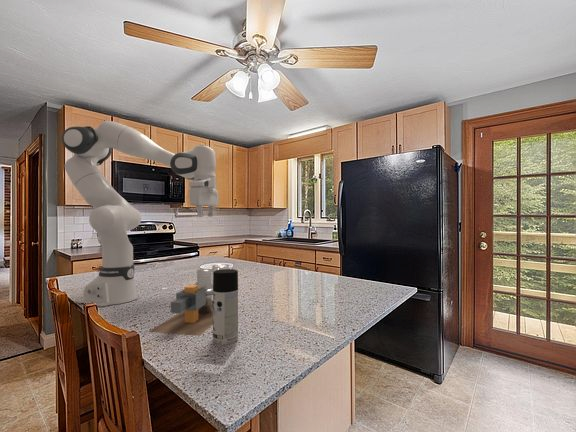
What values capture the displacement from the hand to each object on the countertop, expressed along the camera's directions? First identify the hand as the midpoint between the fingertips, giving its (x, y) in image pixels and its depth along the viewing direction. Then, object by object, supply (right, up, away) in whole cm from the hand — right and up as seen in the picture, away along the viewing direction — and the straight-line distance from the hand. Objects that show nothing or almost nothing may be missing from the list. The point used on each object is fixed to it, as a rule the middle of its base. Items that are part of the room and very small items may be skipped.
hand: (205, 216), depth 126 cm
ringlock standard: (+5, -33, -29) cm, 44 cm away
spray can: (+18, -35, -46) cm, 60 cm away
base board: (+5, -34, -29) cm, 45 cm away
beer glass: (+8, -34, -9) cm, 37 cm away
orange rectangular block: (+4, -33, -32) cm, 46 cm away
